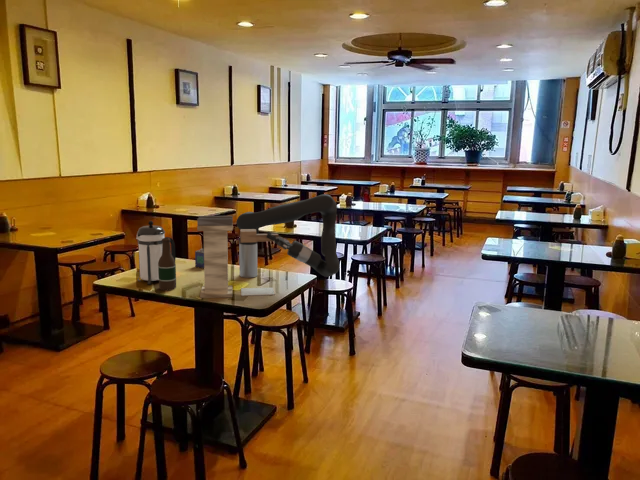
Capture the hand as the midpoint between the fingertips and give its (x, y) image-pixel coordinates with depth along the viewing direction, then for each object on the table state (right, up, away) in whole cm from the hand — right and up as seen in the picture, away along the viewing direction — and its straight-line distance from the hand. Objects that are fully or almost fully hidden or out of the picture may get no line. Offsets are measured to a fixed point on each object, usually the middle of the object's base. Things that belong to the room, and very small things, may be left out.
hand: (267, 234), depth 225 cm
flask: (-41, -18, +48) cm, 66 cm away
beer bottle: (-48, -26, +7) cm, 54 cm away
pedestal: (-23, -27, +1) cm, 36 cm away
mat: (-5, -27, +4) cm, 28 cm away
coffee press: (-58, -23, +20) cm, 66 cm away
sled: (-4, -3, 0) cm, 5 cm away
